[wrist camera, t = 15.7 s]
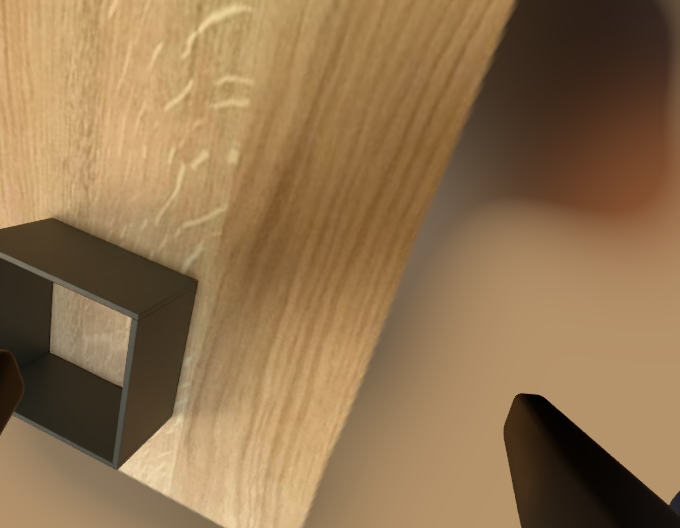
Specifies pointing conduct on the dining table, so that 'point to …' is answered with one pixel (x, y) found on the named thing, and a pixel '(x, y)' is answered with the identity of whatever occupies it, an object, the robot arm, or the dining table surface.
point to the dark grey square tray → (71, 381)
